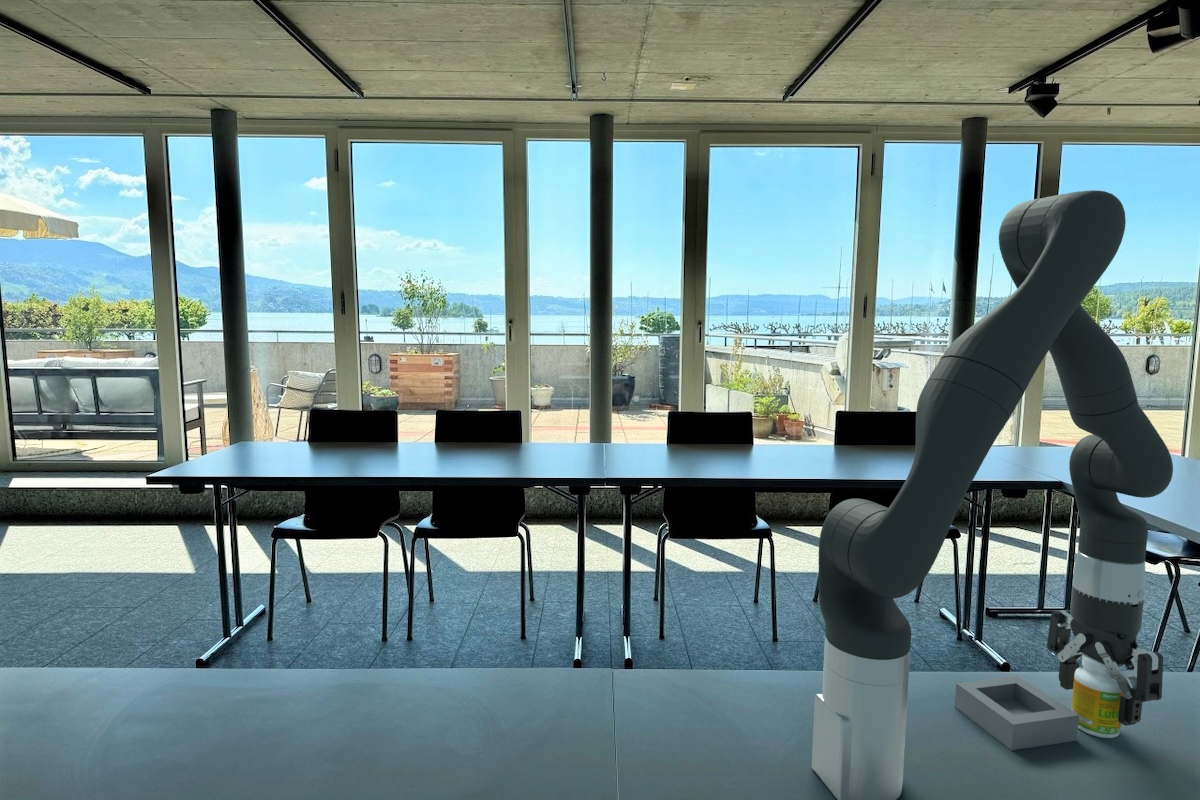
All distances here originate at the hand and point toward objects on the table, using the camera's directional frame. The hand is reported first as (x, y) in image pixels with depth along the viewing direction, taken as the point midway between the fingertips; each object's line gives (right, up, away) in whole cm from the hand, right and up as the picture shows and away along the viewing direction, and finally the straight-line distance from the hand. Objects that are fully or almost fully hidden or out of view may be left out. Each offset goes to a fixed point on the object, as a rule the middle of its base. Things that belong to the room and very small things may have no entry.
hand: (1096, 705), depth 91 cm
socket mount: (-10, -3, +1) cm, 11 cm away
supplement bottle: (0, -3, 0) cm, 3 cm away
